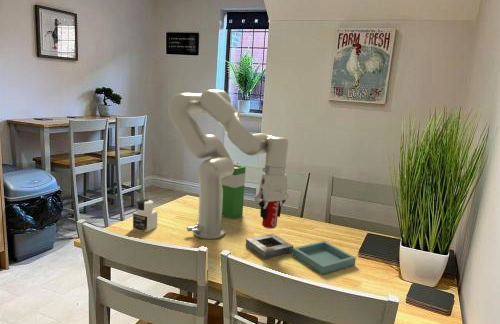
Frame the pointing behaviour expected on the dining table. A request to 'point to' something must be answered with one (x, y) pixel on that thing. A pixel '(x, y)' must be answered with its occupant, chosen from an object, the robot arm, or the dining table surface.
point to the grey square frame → (277, 250)
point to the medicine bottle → (145, 216)
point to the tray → (323, 257)
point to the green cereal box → (233, 193)
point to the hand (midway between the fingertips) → (270, 216)
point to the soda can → (271, 215)
